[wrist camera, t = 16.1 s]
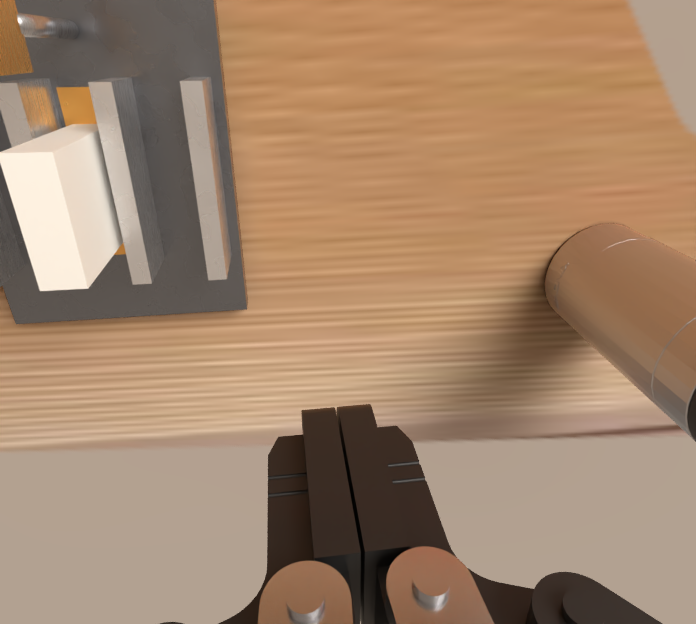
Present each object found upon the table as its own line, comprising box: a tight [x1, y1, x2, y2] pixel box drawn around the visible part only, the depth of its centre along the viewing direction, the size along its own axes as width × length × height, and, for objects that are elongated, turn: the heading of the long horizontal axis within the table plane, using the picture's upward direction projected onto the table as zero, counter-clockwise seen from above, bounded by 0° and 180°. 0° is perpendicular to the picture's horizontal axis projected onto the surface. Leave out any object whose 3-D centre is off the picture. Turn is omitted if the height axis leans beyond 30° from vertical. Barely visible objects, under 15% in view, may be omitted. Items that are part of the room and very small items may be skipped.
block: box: [0, 124, 123, 291], centre depth 29 cm, size 2×7×10 cm, turn 0°
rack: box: [0, 0, 248, 324], centre depth 30 cm, size 17×21×12 cm
